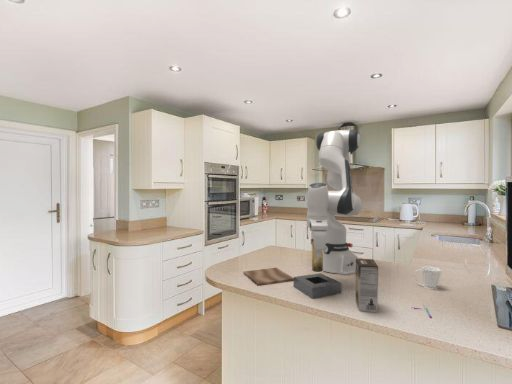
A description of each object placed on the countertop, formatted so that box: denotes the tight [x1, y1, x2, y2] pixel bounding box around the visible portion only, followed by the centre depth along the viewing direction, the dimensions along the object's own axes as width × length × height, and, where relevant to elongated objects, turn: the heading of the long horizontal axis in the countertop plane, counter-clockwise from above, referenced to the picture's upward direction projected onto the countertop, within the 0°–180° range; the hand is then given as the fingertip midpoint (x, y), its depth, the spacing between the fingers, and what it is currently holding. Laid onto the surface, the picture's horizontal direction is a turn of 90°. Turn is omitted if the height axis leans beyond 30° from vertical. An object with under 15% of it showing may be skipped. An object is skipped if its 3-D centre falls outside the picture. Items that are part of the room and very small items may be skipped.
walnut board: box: [243, 267, 294, 287], centre depth 131 cm, size 18×18×1 cm
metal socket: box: [293, 272, 343, 299], centre depth 116 cm, size 14×14×4 cm
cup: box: [413, 266, 442, 290], centre depth 120 cm, size 7×10×8 cm
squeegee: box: [411, 306, 433, 319], centre depth 99 cm, size 15×1×5 cm
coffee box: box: [354, 258, 379, 313], centre depth 100 cm, size 9×6×16 cm
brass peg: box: [310, 238, 324, 273], centre depth 116 cm, size 6×6×13 cm
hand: (317, 255), depth 116 cm, fingers closed on brass peg, 5 cm apart
